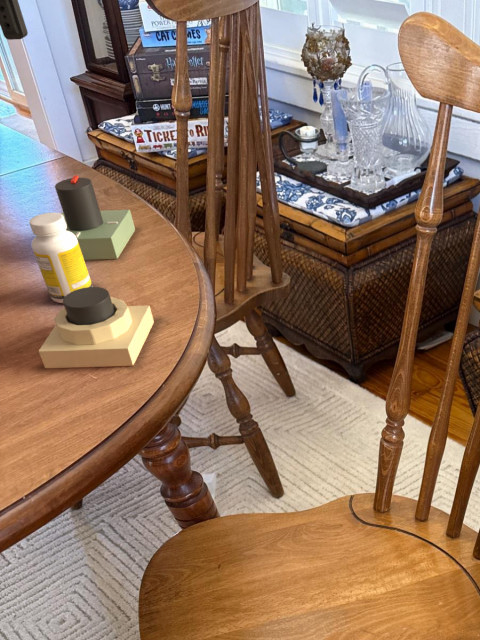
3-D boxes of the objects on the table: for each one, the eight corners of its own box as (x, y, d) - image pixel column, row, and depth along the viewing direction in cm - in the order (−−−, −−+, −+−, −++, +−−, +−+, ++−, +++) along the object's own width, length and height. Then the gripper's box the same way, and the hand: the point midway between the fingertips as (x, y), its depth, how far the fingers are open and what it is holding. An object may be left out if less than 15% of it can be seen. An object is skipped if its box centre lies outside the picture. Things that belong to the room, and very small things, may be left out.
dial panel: (46, 261, 108) (38, 239, 106) (68, 232, 116) (61, 210, 114) (117, 258, 108) (110, 236, 106) (135, 229, 115) (129, 208, 113)
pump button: (63, 327, 87) (56, 308, 85) (77, 306, 90) (70, 287, 89) (108, 326, 87) (101, 306, 85) (119, 305, 90) (114, 285, 89)
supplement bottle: (96, 283, 103) (72, 208, 96) (91, 302, 99) (66, 225, 92) (54, 287, 102) (27, 212, 96) (47, 306, 98) (18, 229, 92)
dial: (99, 229, 108) (86, 186, 104) (64, 232, 108) (50, 188, 104) (105, 216, 112) (93, 173, 108) (72, 218, 111) (58, 176, 107)
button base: (45, 368, 87) (32, 336, 85) (72, 324, 95) (61, 293, 92) (133, 365, 87) (123, 333, 84) (154, 322, 94) (145, 291, 92)
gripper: (-58, -169, 81) (6, 26, 93) (-121, -165, 71) (-40, 53, 83) (13, -173, 81) (68, 24, 93) (-40, -169, 71) (29, 50, 83)
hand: (16, 37), depth 88 cm, fingers closed
